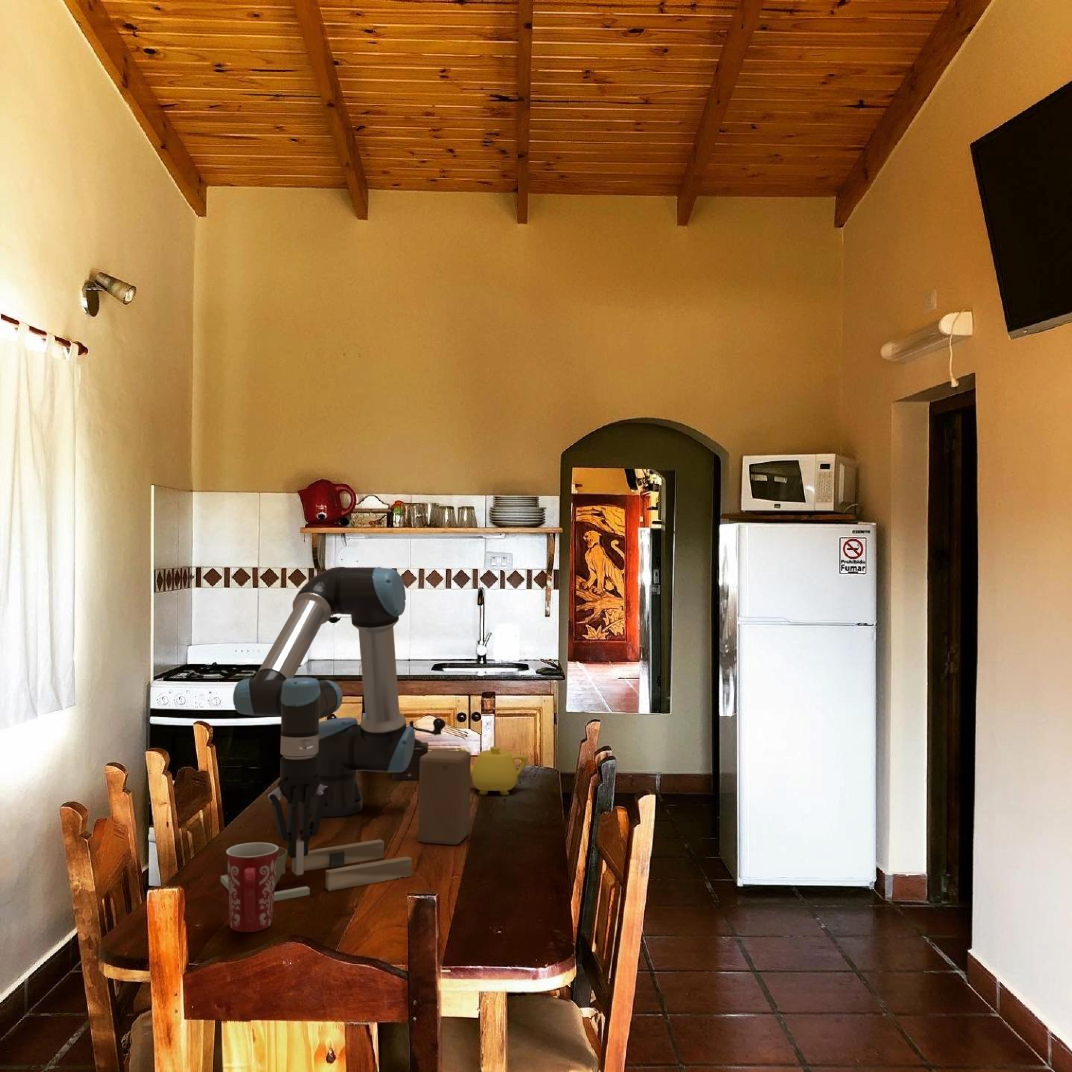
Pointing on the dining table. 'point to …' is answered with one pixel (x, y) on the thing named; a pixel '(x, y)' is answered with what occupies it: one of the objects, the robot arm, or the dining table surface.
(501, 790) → the teapot
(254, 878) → the mug
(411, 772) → the manual coffee grinder
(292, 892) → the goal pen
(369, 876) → the twin plank rack
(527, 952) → the dining table surface
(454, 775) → the wooden block
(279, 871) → the flower pot
